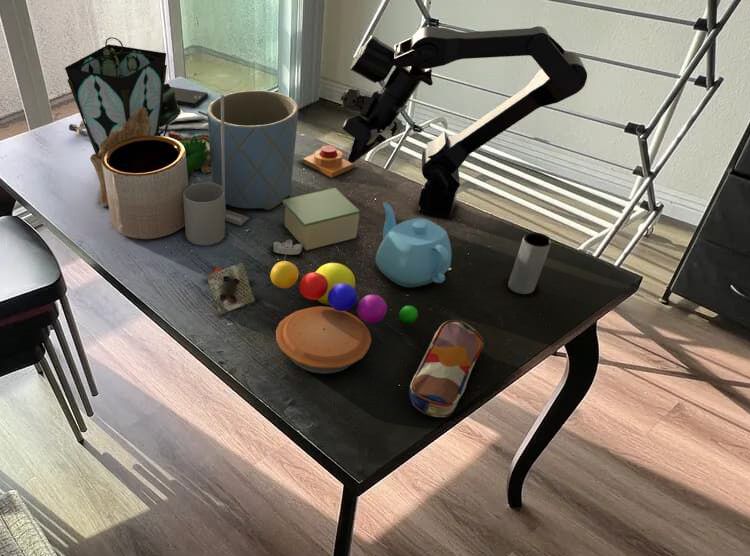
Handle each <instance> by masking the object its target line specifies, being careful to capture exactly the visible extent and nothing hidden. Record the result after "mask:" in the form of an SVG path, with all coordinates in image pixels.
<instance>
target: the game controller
mask: <svg viewBox="0 0 750 556" xmlns="http://www.w3.org/2000/svg"><path fill="white" fill-rule="evenodd" d="M302 249H303V246H302V245H301V244H300V243H296V244H293V240H292V239H287V240H286V241H283V242H282V243H281V242H279V241H274V242H273V248H272V251H273V252H274V253H276V254H281V255H285V256H284V258H283V261H286V260H285V259H286V257H287V255H289V256H290V255H295V256H296V255H299V254H301V252H302Z"/></svg>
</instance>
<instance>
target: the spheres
mask: <svg viewBox="0 0 750 556" xmlns="http://www.w3.org/2000/svg"><path fill="white" fill-rule="evenodd" d="M269 274H270V280H271V282H272V284H273V285H274V286H275V287H277V288H280V289H289V288H291V287H293V286H294V285H295V284H296V282H297V281H298V278H299V269H298V267H297V266H296V265H295V264H294V263H293V262H290V261H286V260H282V261H279V262H277V263H275V264H274V266H273V267H272V269H271V271H270V273H269ZM355 288H356V277H355V274H354V273H353V271H352V270H351V269H350V268H349V267H347V266H346V265H344V264H342V263H339V262H328V263H325V264H323V265H321V266H319V267H318V268H317V269H316V270H315V271H314V272H313V271H312V272H308V273H306V274H304V276H302V279H301V280H300V282H299V292H300V294H301V295H302V296H303V297H304V298H306V299H307V300H311V301H316V300H317V302H319V303H321V304H322V305H324V306H327V307H331V308H334V309H335V310H338V311H346V312H348V311H350V310H351V309H352V308H353V307H354V306H355V304H356V302H357V297H358V294H357V291H356V289H355ZM387 311H388V305H387V302H386V301H385V299H384V298H383V297H381V295H377V294H367V295H364V296H363V297H362V298H361V299H360V301H359V302H358V305H357V311H356V312H357V315H358V318H359V319H360V320H361V321H364V322H365V323H369V324H375V323H378V322H380V321H381V320H383V318H384V317H385V316H386V314H387ZM398 315H399V317H398V318H399V319H400V321H401V322H403V323H404V324H413V323H415V322H416V321H417V320H418V317H419V311H418V310H417V308H416V307H414V306H412V305H404V306H403V307H402V308H401V309H400V311H399V313H398Z"/></svg>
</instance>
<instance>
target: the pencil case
mask: <svg viewBox="0 0 750 556" xmlns="http://www.w3.org/2000/svg"><path fill="white" fill-rule="evenodd" d="M484 345H485V342H484V339H483V337H482V336H481V334H480V333H479V332H478V331H477V329H475V328H474V327H472V326H471V325H470V324H468V323H466V322H464V321H462V320H457V319H453V320H451V319H450V320H446V321H445V322H443V323H442V324H441V325H440V326H439V327H438V329H437V330H436V331H435V332H434V335H433V338H432V340H431V342H430V343H429V346H428V348H427V350H426V351H425V353H424V356H423V357H422V360H421V362H420V364H419V365H418V368H417V370H416V371H415V374H414V375H413V378H412V380H411V381H410V385H409V398H410V400H411V404H412V405H413V407H415V409H416V410H418V411H419V412H420V413H422V414H424V415H426V416H429V417H435V418H447V417H449V416H451V415H452V414H453V413H454V412H455V411H456V408H457V406H458V404H459V401H460V399H461V397H462V396H463V394H464V392H465V390H466V388H467V385H468V381H469V378H470V375H471V374H472V371H473V368H474V367H475V364H476V361H477V360H478V358H479V356H480V354H481V352H482V350H483V349H484Z"/></svg>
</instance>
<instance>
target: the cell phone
mask: <svg viewBox="0 0 750 556" xmlns="http://www.w3.org/2000/svg"><path fill="white" fill-rule="evenodd" d="M170 87H171V89H174V91H175V98H176V101H177V104H179V105H186V106H191V107H196V106H198V105H199V104H200V103H201V102H202V101H204V100H205V99H206V98H208V95H209V94H208V92H205V91H201V90H200V91H199V90H193V89H187V88H181V87H174V86H170Z"/></svg>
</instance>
